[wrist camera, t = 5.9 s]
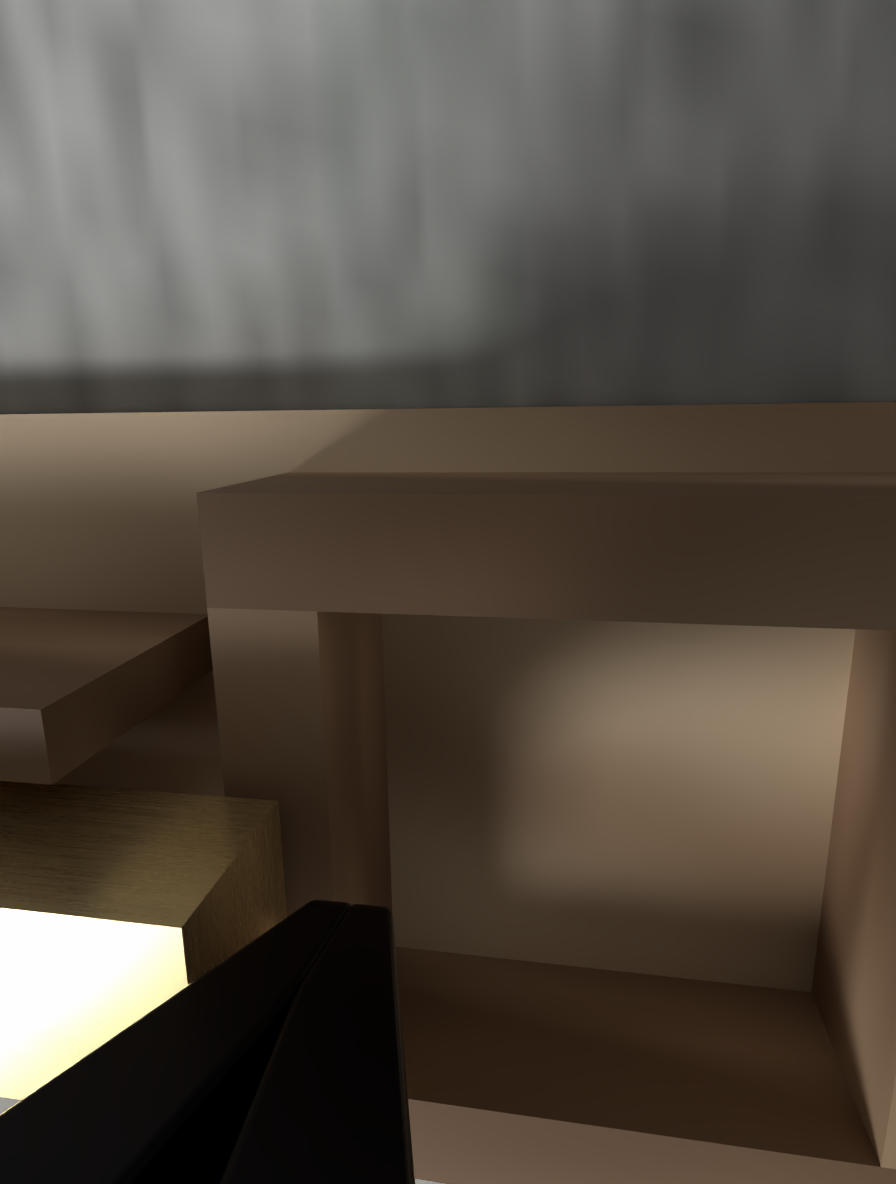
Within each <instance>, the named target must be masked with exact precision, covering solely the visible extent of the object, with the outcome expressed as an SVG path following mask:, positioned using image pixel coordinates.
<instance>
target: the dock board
mask: <svg viewBox="0 0 896 1184" xmlns="http://www.w3.org/2000/svg"><path fill="white" fill-rule="evenodd" d="M0 781H11V782H23V783H36V784H49V785H52V784H54V783H56V784H69V785H82V786H95V787H107V788H120V789H133V790H146V791H159V792H171V793H184V794H197V795H210V796H223V797H235V798H248V799H261V800H274V801H279V814H280V828H281V841H282V854H283V868H284V881H285V894H286V908H287V917H288V916H289V915H291V914H292V913H294V912H295V911H296V910H298V909H299V908H301V907H302V906H304V905H305V904H307V903H308V902H310V901H312V900H328V901H337V902H346V903H350V904H351V905H354V904H366V905H375V906H385V907H389V908H390V909H391V911H392V913H393V922H394V934H395V946H396V959H397V971H398V983H399V995H400V1007H401V1019H402V1032H403V1044H404V1056H405V1068H406V1080H407V1092H408V1104H409V1117H410V1129H411V1141H412V1153H413V1165H414V1177H415V1179H421V1180H428V1181H434V1182H440V1183H446V1184H896V402H836V403H766V404H696V405H626V406H556V407H486V408H416V409H346V410H277V411H207V412H137V413H67V414H0Z"/></svg>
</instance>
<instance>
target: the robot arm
mask: <svg viewBox="0 0 896 1184" xmlns="http://www.w3.org/2000/svg"><path fill="white" fill-rule="evenodd" d="M0 1184H415V1177H414V1165H413V1153H412V1141H411V1129H410V1117H409V1104H408V1092H407V1080H406V1068H405V1056H404V1044H403V1032H402V1019H401V1007H400V995H399V983H398V971H397V959H396V946H395V934H394V922H393V913H392V911H391V909H390V908H389V907H385V906H375V905H366V904H354V905H351V904H350V903H346V902H337V901H328V900H312V901H310V902H308V903H307V904H305V905H304V906H302V907H301V908H299V909H298V910H296V911H295V912H294V913H292V914H291V915H289V916H288V917H286V918H285V919H283V920H282V921H281V922H279V923H278V924H276V925H275V926H273V927H272V928H270V929H269V930H267V931H266V932H265V933H263V934H262V935H260V936H259V937H257V938H256V939H254V940H253V941H252V942H250V943H249V944H247V945H246V946H244V947H243V948H241V949H240V950H238V951H237V952H236V953H234V954H233V955H231V956H230V957H228V958H227V959H225V960H224V961H223V962H221V963H220V964H218V965H217V966H215V967H214V968H212V969H211V970H209V971H208V972H207V973H205V974H204V975H202V976H201V977H199V978H198V979H196V980H195V981H194V982H192V983H191V984H189V985H188V986H186V987H185V988H183V989H182V990H180V991H179V992H178V993H176V994H175V995H173V996H172V997H170V998H169V999H167V1000H166V1001H165V1002H163V1003H162V1004H160V1005H159V1006H157V1007H156V1008H154V1009H153V1010H151V1011H150V1012H149V1013H147V1014H146V1015H144V1016H143V1017H141V1018H140V1019H138V1020H137V1021H136V1022H134V1023H133V1024H131V1025H130V1026H128V1027H127V1028H125V1029H124V1030H122V1031H121V1032H120V1033H118V1034H117V1035H115V1036H114V1037H112V1038H111V1039H109V1040H108V1041H107V1042H105V1043H104V1044H102V1045H101V1046H99V1047H98V1048H96V1049H95V1050H93V1051H92V1052H91V1053H89V1054H88V1055H86V1056H85V1057H83V1058H82V1059H80V1060H79V1061H78V1062H76V1063H75V1064H73V1065H72V1066H70V1067H69V1068H67V1069H66V1070H64V1071H63V1072H62V1073H60V1074H59V1075H57V1076H56V1077H54V1078H53V1079H51V1080H50V1081H49V1082H47V1083H46V1084H44V1085H43V1086H41V1087H40V1088H38V1089H37V1090H35V1091H34V1092H33V1093H31V1094H30V1095H28V1096H27V1097H25V1098H24V1099H22V1100H21V1101H20V1102H18V1103H17V1104H15V1105H14V1106H12V1107H11V1108H9V1109H8V1110H6V1111H5V1112H4V1113H2V1114H1V1115H0Z"/></svg>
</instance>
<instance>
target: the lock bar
mask: <svg viewBox="0 0 896 1184" xmlns="http://www.w3.org/2000/svg"><path fill="white" fill-rule="evenodd" d="M286 917H287V908H286V894H285V881H284V868H283V854H282V841H281V828H280V814H279V801H274V800H261V799H248V798H235V797H223V796H210V795H197V794H184V793H171V792H159V791H146V790H133V789H120V788H107V787H95V786H82V785H69V784H56V783H54V784H52V785H49V784H36V783H23V782H11V781H0V1097H6V1098H12V1099H18V1100H22V1099H24V1098H25V1097H27V1096H28V1095H30V1094H31V1093H33V1092H34V1091H35V1090H37V1089H38V1088H40V1087H41V1086H43V1085H44V1084H46V1083H47V1082H49V1081H50V1080H51V1079H53V1078H54V1077H56V1076H57V1075H59V1074H60V1073H62V1072H63V1071H64V1070H66V1069H67V1068H69V1067H70V1066H72V1065H73V1064H75V1063H76V1062H78V1061H79V1060H80V1059H82V1058H83V1057H85V1056H86V1055H88V1054H89V1053H91V1052H92V1051H93V1050H95V1049H96V1048H98V1047H99V1046H101V1045H102V1044H104V1043H105V1042H107V1041H108V1040H109V1039H111V1038H112V1037H114V1036H115V1035H117V1034H118V1033H120V1032H121V1031H122V1030H124V1029H125V1028H127V1027H128V1026H130V1025H131V1024H133V1023H134V1022H136V1021H137V1020H138V1019H140V1018H141V1017H143V1016H144V1015H146V1014H147V1013H149V1012H150V1011H151V1010H153V1009H154V1008H156V1007H157V1006H159V1005H160V1004H162V1003H163V1002H165V1001H166V1000H167V999H169V998H170V997H172V996H173V995H175V994H176V993H178V992H179V991H180V990H182V989H183V988H185V987H186V986H188V985H189V984H191V983H192V982H194V981H195V980H196V979H198V978H199V977H201V976H202V975H204V974H205V973H207V972H208V971H209V970H211V969H212V968H214V967H215V966H217V965H218V964H220V963H221V962H223V961H224V960H225V959H227V958H228V957H230V956H231V955H233V954H234V953H236V952H237V951H238V950H240V949H241V948H243V947H244V946H246V945H247V944H249V943H250V942H252V941H253V940H254V939H256V938H257V937H259V936H260V935H262V934H263V933H265V932H266V931H267V930H269V929H270V928H272V927H273V926H275V925H276V924H278V923H279V922H281V921H282V920H283V919H285V918H286Z"/></svg>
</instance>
